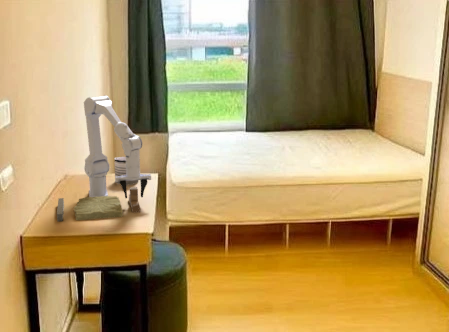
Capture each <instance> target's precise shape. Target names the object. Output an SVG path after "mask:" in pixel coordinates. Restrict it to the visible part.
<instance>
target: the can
mask: <svg viewBox="0 0 449 332" xmlns="http://www.w3.org/2000/svg"><path fill="white" fill-rule="evenodd" d="M113 161H114V177H115V176H122V175H126V156H119V157H118V156H117V157H114V160H113ZM139 181H140V180H134V181H126V186H129V185H130V186H131V185H135V184H138V183H139ZM114 182H115V184H116V183H117V184H116V185H119V184H120V181H118V182H116V181H115V180H114Z"/></svg>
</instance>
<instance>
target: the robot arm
mask: <svg viewBox="0 0 449 332" xmlns="http://www.w3.org/2000/svg"><path fill="white" fill-rule="evenodd" d="M83 108H84V116H85V123H86V131H87V140H88V149H89V154H88V155H87V156H86V158H85V159H84V166H83V169H84V172H85V174H86V175H87V177H88V182H89V183H88V184H89V190H88V197H100V196H109V193H108V189H107V175H108V172H109V171H110V167H111V166H110V163H109V160H108V156H107V155H105V154H104V153H103V149H102V148H103V147H102V137H101V128H100V117H101V116H102V115H104V116H105V118H106V119H107V120H108V121H109V122H110V123H111V125H112V126H113V127H114V128H113V132H114V133H115V135H116V136H117V137H118V139H119V140H120V141H121V142H122V143H121V147H122V149H123V154H124V156H125V157H126V175H122V176H115V175H114V182H115V181H116V182H118V181H120V184H121V185H120V186H121V189H122V191H123V193H124V199H128V193H127V185H126V181H134V180H139V181H140V197H141V198H143V197H144V192H145V189H146V187H147V184H148V181H151V180H152V174H151V173H150V174H148V173H147V174H145V173H143V174H142V173H141V159H140V158H141V157H140V156H141V155H140V153H141V151H140V150H141V149H142V147H143V140H142V138H141V136H139V135H136V133H134V132H133V131H132V129H130V127H129V125H128V124H127V123H126V122H122V120H121V119H120V117H119V116H118V114H117V113H116V111H115V109H114V108H113V101H112V100H111V99H110V97H109V96H108V95H106V94H104V95H101V96H100V95H99V96H92V97H90V96H89V97H87V98H86V99H85V100H84V102H83Z"/></svg>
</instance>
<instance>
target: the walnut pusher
mask: <svg viewBox="0 0 449 332" xmlns="http://www.w3.org/2000/svg"><path fill="white" fill-rule="evenodd" d="M138 191H139V189H138V187H137V186H135V187H129V194H128V201H129V205H130V210H131V212H132V213H134V214H135V213H141V209H140V208H141V206H140V202H139V192H138Z"/></svg>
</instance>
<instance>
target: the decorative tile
mask: <svg viewBox="0 0 449 332" xmlns="http://www.w3.org/2000/svg"><path fill="white" fill-rule="evenodd" d="M121 203H122V202H121V200H120V198H119V197H118V196H117V195H114V196H112V195H111V196H110V195H108V196H100V197H89V196H86V197H82V198H79V199H78V201H77V202H76V205H75V206H74V207H73V210H74V216H75V217H74V218H75V220H76V221H81V220H83V221H84V220H85V221H86V220H98V219H110V218H122V217H123V208H122V204H121Z"/></svg>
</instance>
